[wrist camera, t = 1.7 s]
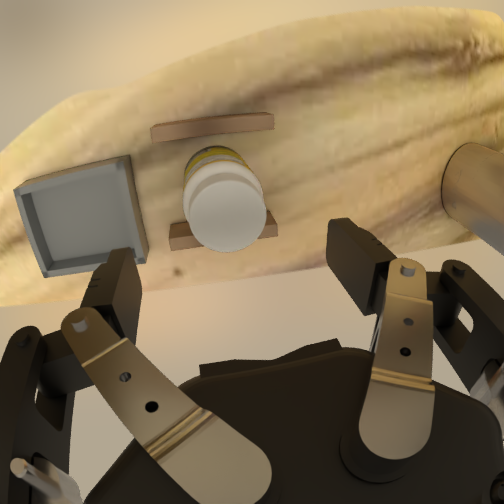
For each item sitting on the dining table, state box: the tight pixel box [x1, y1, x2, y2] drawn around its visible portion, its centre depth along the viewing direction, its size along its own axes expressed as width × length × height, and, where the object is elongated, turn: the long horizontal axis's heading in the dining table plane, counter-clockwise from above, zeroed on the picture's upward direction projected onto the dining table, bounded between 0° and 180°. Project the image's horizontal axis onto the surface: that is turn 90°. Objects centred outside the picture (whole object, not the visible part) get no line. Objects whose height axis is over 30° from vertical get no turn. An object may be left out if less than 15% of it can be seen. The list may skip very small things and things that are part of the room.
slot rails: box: [150, 112, 278, 251], centre depth 21 cm, size 8×9×2 cm
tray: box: [13, 155, 149, 278], centre depth 21 cm, size 10×8×2 cm
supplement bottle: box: [183, 146, 267, 252], centre depth 19 cm, size 5×5×8 cm
